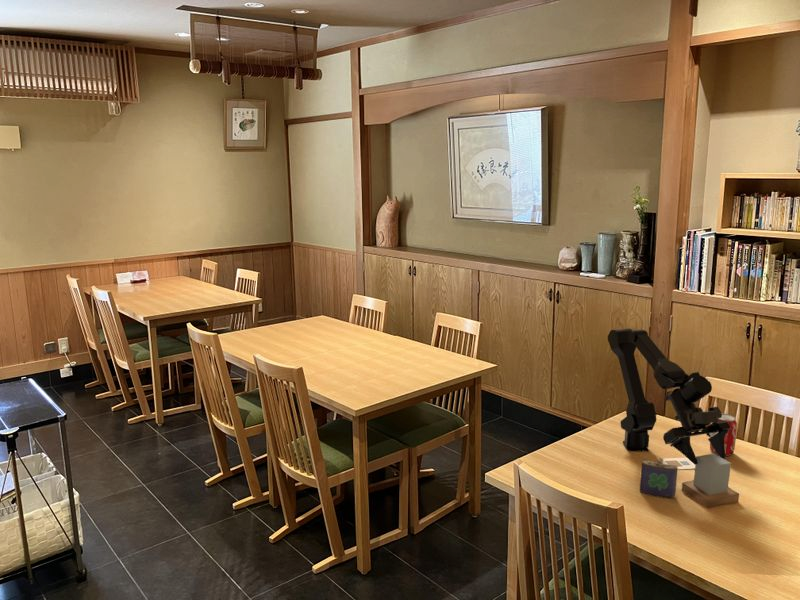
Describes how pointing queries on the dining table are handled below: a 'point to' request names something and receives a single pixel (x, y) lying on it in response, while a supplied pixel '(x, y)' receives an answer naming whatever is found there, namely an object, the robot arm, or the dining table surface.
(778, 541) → the dining table surface
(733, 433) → the soda can
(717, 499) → the base brick
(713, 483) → the tower block
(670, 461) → the page
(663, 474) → the flask
